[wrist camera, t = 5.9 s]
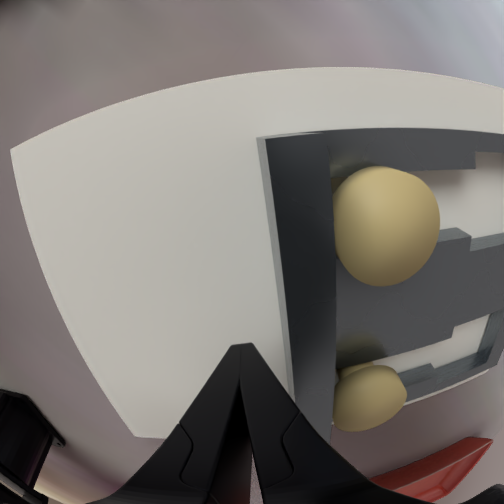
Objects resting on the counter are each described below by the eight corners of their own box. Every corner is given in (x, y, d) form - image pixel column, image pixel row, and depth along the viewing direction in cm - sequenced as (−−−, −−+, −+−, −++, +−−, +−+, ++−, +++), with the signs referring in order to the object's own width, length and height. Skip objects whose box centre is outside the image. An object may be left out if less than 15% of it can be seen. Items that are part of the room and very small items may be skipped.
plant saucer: (484, 418, 19) (497, 439, 16) (443, 479, 26) (450, 495, 23) (320, 482, 21) (325, 511, 17) (326, 519, 27) (329, 537, 24)
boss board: (476, 358, 15) (506, 397, 11) (140, 418, 15) (125, 471, 11) (510, 96, 8) (570, 100, 5) (32, 145, 9) (-37, 160, 5)
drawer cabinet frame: (488, 354, 12) (522, 398, 9) (290, 412, 13) (301, 482, 9) (526, 137, 8) (592, 153, 4) (256, 137, 8) (264, 139, 4)
